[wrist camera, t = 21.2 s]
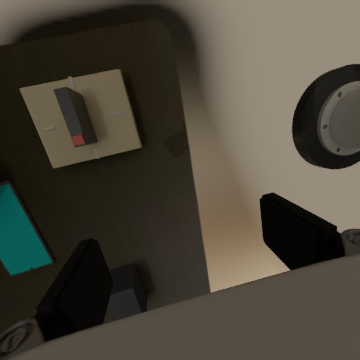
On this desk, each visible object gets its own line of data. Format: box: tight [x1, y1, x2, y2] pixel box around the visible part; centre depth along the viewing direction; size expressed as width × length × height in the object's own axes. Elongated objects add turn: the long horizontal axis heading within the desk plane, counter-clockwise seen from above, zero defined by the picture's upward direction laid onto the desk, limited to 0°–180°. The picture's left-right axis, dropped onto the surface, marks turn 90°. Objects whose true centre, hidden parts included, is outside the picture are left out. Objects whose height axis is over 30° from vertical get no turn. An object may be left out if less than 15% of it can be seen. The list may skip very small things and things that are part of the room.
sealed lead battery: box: [53, 87, 98, 148], centre depth 22 cm, size 6×1×5 cm, turn 13°
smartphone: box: [0, 180, 55, 277], centre depth 29 cm, size 7×1×15 cm
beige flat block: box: [20, 69, 142, 168], centre depth 26 cm, size 12×10×3 cm
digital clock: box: [108, 264, 147, 321], centre depth 32 cm, size 8×4×6 cm, turn 14°
